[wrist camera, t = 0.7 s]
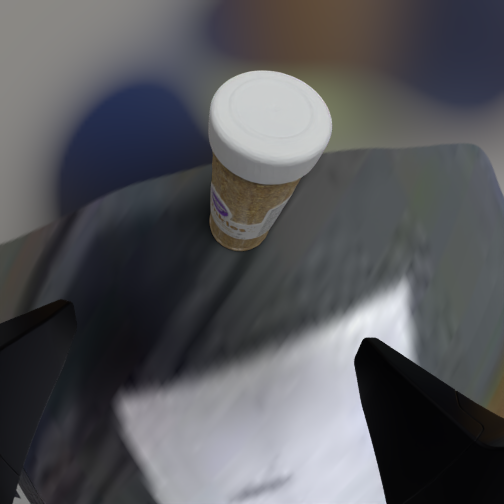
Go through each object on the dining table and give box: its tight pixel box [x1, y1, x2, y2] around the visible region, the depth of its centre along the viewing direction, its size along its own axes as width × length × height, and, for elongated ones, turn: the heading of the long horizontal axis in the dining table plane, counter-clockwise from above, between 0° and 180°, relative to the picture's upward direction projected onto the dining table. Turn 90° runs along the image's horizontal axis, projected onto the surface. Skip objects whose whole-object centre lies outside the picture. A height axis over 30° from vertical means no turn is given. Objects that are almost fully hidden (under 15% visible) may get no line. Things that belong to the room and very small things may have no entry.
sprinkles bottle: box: [209, 71, 332, 251], centre depth 16 cm, size 5×5×13 cm
